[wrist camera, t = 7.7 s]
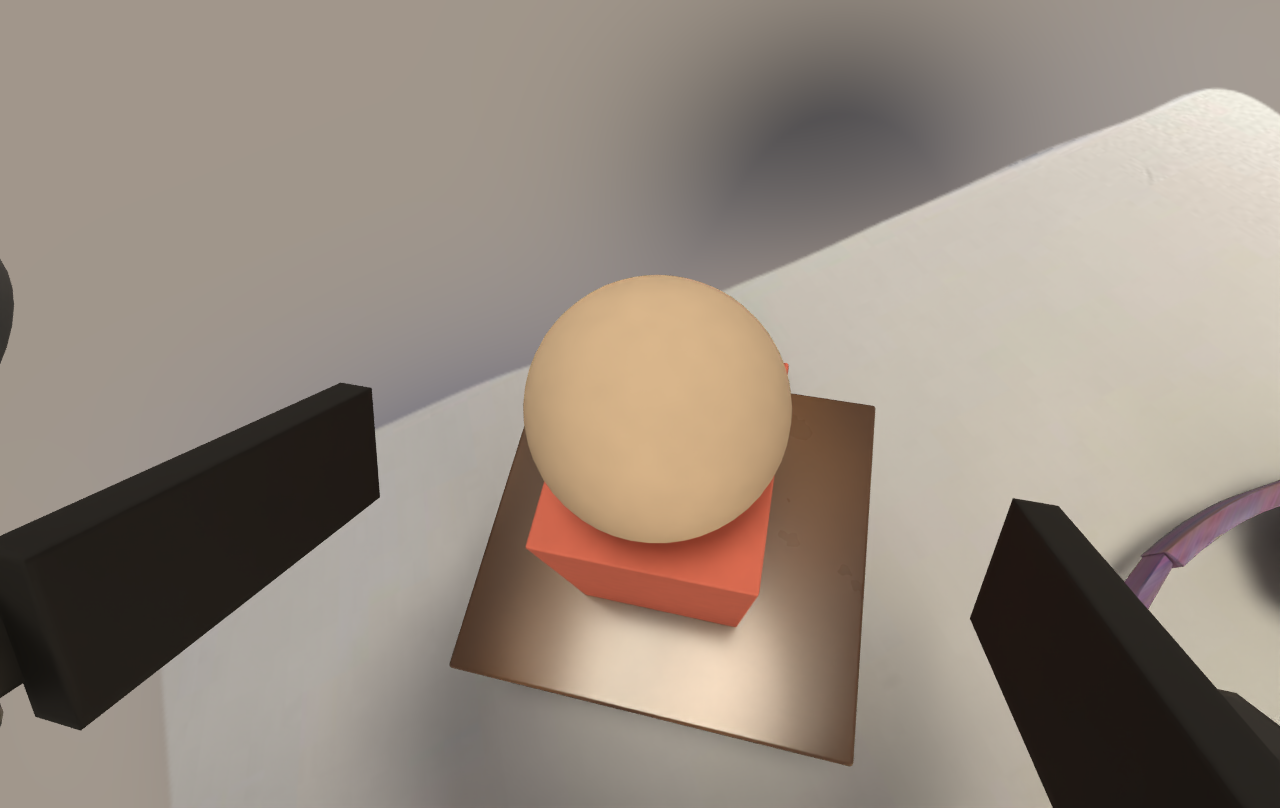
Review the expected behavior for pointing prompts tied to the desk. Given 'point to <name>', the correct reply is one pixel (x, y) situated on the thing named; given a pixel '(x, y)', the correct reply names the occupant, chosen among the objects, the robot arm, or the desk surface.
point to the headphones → (1197, 538)
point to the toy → (657, 446)
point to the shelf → (692, 648)
